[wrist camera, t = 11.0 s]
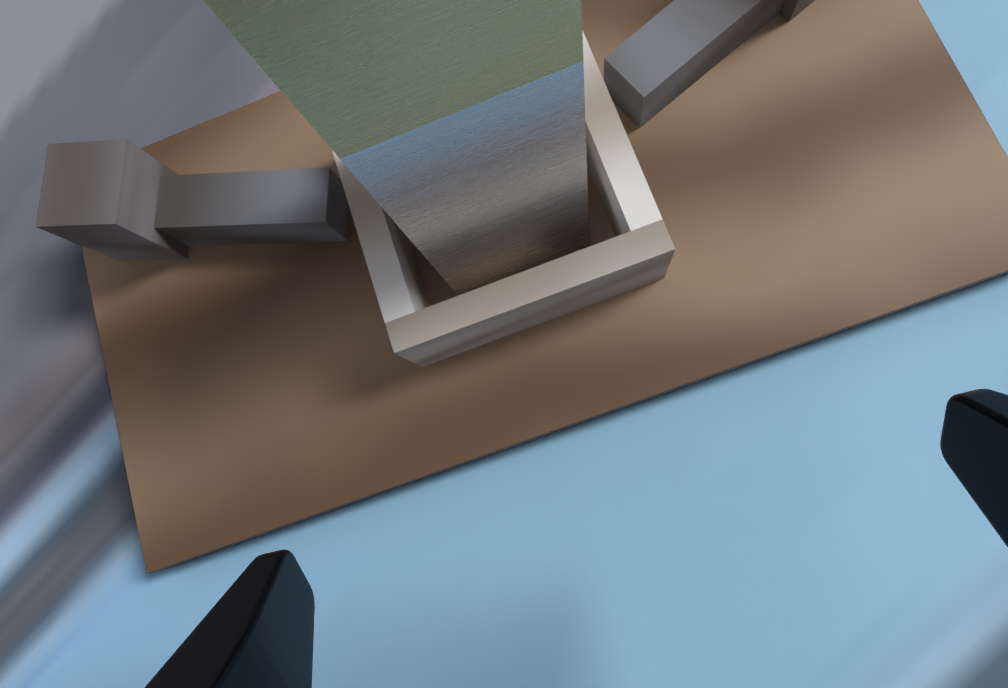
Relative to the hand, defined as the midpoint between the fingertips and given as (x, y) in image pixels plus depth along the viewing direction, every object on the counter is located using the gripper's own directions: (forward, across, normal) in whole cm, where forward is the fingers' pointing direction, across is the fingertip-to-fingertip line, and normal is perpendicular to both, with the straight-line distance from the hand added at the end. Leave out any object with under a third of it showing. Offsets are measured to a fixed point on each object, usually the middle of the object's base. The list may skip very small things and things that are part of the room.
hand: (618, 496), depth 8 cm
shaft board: (+12, 0, 0) cm, 12 cm away
